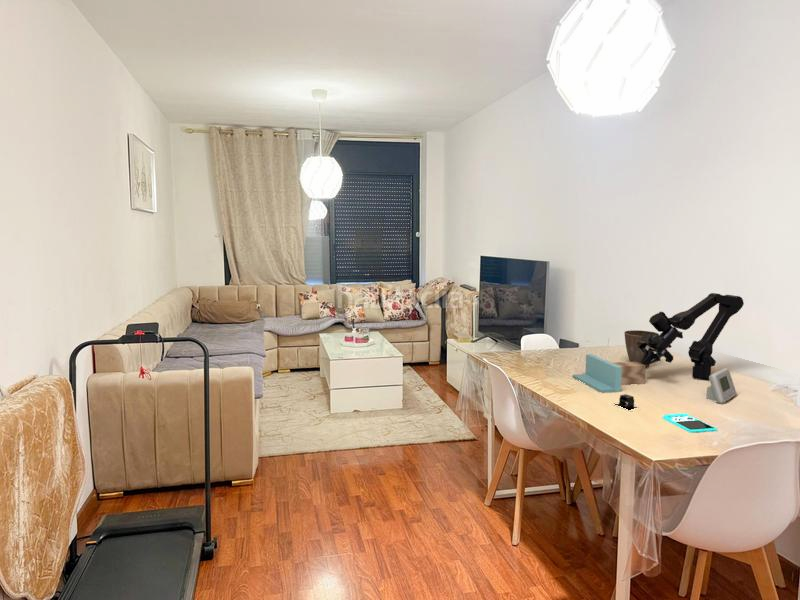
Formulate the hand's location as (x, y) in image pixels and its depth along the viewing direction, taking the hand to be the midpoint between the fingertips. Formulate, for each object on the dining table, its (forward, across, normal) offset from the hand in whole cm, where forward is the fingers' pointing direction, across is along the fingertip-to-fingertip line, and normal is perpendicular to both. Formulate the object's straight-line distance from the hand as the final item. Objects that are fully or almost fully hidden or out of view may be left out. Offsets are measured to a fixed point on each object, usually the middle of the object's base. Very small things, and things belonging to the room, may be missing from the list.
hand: (640, 366), depth 240 cm
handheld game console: (+16, +50, -5) cm, 53 cm away
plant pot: (-6, -23, +16) cm, 29 cm away
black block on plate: (+22, +30, -12) cm, 39 cm away
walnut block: (+11, 0, -1) cm, 11 cm away
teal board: (+19, 0, -10) cm, 21 cm away
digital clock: (-6, +28, +16) cm, 33 cm away
